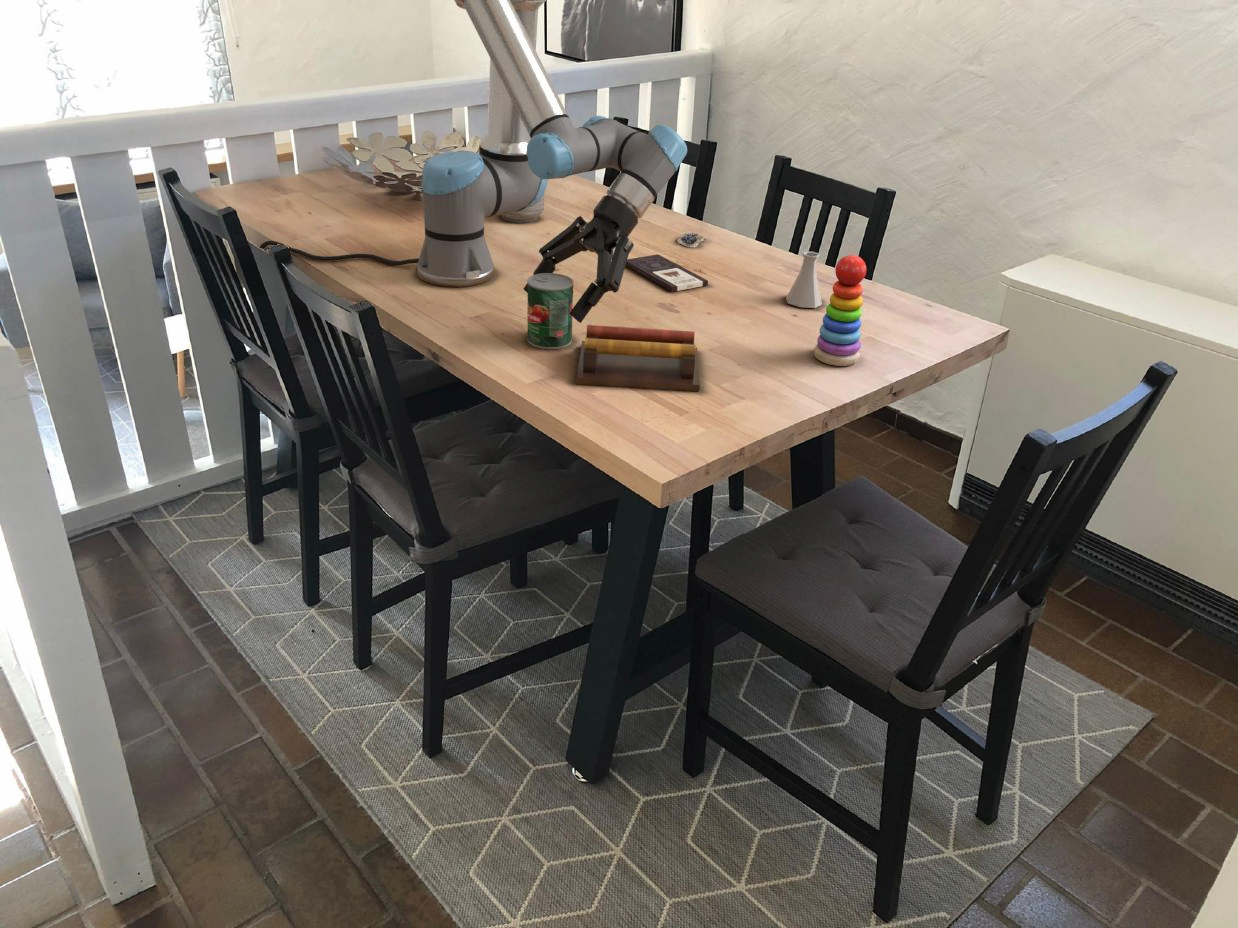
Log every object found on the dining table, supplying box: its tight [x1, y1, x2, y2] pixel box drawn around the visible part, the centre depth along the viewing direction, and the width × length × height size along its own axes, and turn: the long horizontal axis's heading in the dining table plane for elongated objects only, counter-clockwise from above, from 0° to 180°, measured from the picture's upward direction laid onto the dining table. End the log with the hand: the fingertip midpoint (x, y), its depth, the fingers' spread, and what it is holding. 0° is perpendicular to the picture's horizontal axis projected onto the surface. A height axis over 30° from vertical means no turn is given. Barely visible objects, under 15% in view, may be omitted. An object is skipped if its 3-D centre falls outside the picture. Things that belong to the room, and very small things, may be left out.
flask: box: [785, 250, 823, 309], centre depth 194 cm, size 7×7×10 cm
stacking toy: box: [813, 254, 867, 367], centre depth 168 cm, size 8×8×19 cm
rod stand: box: [575, 324, 701, 392], centre depth 164 cm, size 20×15×6 cm
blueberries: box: [676, 232, 707, 248], centre depth 225 cm, size 7×8×2 cm
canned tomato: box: [526, 272, 574, 350], centre depth 171 cm, size 8×8×11 cm
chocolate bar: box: [625, 253, 709, 293], centre depth 205 cm, size 9×1×18 cm
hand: (551, 306), depth 170 cm, fingers open, 13 cm apart
